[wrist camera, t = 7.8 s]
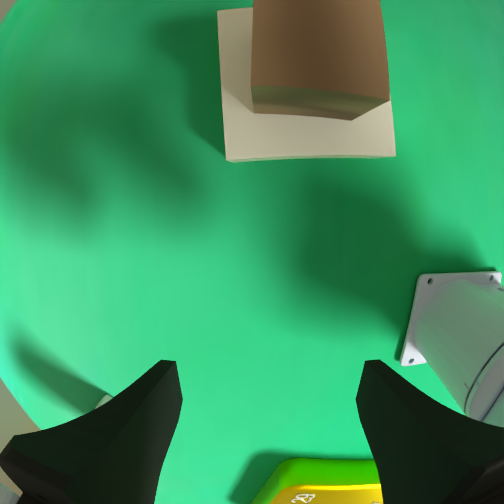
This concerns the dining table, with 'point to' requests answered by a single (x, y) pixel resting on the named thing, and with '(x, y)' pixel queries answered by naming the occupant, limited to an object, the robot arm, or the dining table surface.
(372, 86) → the walnut cube
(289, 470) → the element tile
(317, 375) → the dining table surface
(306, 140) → the cream base block
